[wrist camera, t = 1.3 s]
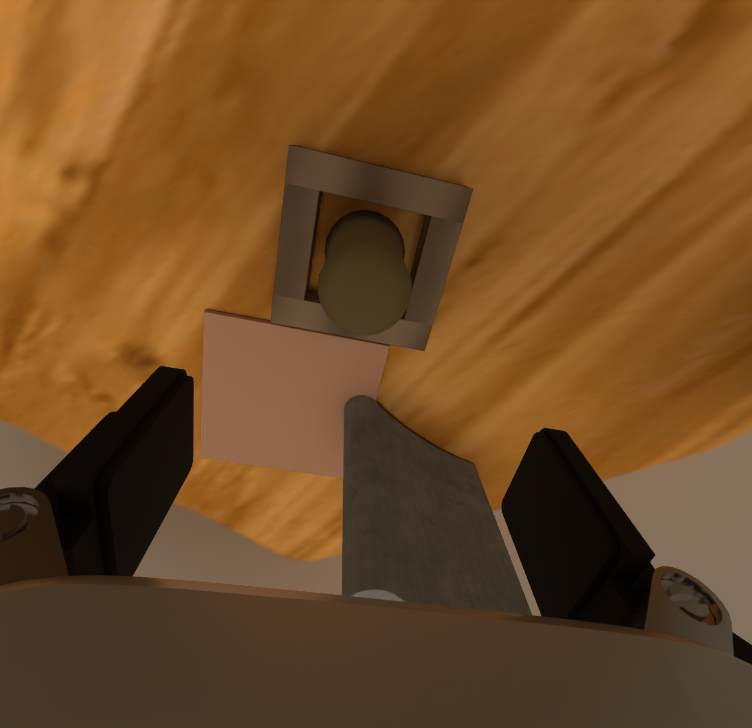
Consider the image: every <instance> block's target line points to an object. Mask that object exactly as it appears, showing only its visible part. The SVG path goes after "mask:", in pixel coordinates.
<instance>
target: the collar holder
mask: <svg viewBox="0 0 752 728" xmlns="http://www.w3.org/2000/svg"><path fill="white" fill-rule="evenodd" d="M322 191H323V192H328V193H332V194H336V195H341V196H345V197H350V198H354V199H358V200H363V201H367V202H371V203H376V204H380V205H385V206H389V207H393V208H398V209H402V210H407V211H411V212H415V213H420V214H424V215H426V216H425V220H424V224H423V228H422V232H421V235H420V239H419V243H418V247H417V251H416V255H415V259H414V263H413V267H412V270H411V274H410V276H411V284H412V294H411V298H410V303H409V306H408V308H407V309H406V311H405V313H404V315H403V316H402V318H401V319H400V320H399V321H398V322H397V323H396V324H395V325H394V326H392V327H391V328H390V329H388V330H385V331H383V332H381V333H379V334H373V335H366V336H364V335H358V334H351V333H349V332H347V331H345V330H343V329H341V328H339V327H338V326H336V325H335V324H334V323H333V322H332V321H331V320H330V319H329V318H328V316H327V315H326V313H325V311H324V309H323V308H322V306H321V304H320V299H319V295H318V292H314V291H309V290H308V287H309V280H310V273H311V266H312V259H313V252H314V245H315V238H316V231H317V224H318V217H319V210H320V203H321V196H322ZM472 191H473V189H472V188H469V187H466V186H463V185H459V184H454V183H450V182H446V181H442V180H438V179H434V178H429V177H425V176H421V175H417V174H413V173H409V172H404V171H400V170H396V169H392V168H388V167H383V166H379V165H375V164H371V163H367V162H363V161H358V160H354V159H350V158H346V157H342V156H338V155H333V154H329V153H325V152H321V151H317V150H313V149H308V148H304V147H300V146H296V145H289V151H288V160H287V170H286V179H285V189H284V199H283V208H282V218H281V228H280V237H279V247H278V257H277V266H276V276H275V285H274V295H273V305H272V314H271V323H277V324H282V325H288V326H293V327H298V328H304V329H309V330H314V331H320V332H325V333H330V334H336V335H341V336H347V337H352V338H357V339H363V340H368V341H373V342H379V343H384V344H389V345H395V346H400V347H405V348H411V349H416V350H422V351H425V348H426V345H427V342H428V338H429V335H430V332H431V328H432V325H433V322H434V318H435V315H436V312H437V308H438V305H439V302H440V298H441V295H442V292H443V288H444V285H445V282H446V278H447V275H448V272H449V268H450V265H451V262H452V258H453V255H454V251H455V248H456V245H457V241H458V238H459V235H460V231H461V228H462V225H463V221H464V218H465V215H466V211H467V208H468V205H469V201H470V198H471V195H472Z"/></svg>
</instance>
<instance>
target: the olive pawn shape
mask: <svg viewBox="0 0 752 728" xmlns="http://www.w3.org/2000/svg"><path fill="white" fill-rule="evenodd" d="M404 254H405V250H404V241H403V238H402V236H401V234H400V231H399V229H398V228H397V227H396V225H395V224H394V223H393V222H392V221H391V220H390V219H389V218H387V217H385V216H384V215H382V214H380V213H378V212H374V211H368V210H361V211H355V212H351V213H349V214H347V215H345V216H344V217H342V218H340V219H339V220H338V221H337V222H336V223H335V225H334V226H333V227H332V228H331V230H330V232H329V235H328V237H327V239H326V247H325V255H326V262H325V264H324V266H323V268H322V270H321V272H320V274H319V281H318V295H319V299H320V304H321V306H322V308H323V309H324V311H325V313H326V315H327V316H328V318H329V319H330V320H331V321H332V322H333V323H334V324H335V325H336V326H338V327H339V328H341V329H343V330H345V331H347V332H349V333H351V334H358V335H364V336H366V335H373V334H379V333H381V332H383V331H385V330H388V329H390V328H391V327H392V326H394V325H395V324H396V323H397V322H398V321H399V320H400V319H401V318H402V316H403V315H404V313H405V311H406V309H407V308H408V306H409V303H410V298H411V294H412V284H411V276H410V273H409V271H408V269H407V267H406V265H405V263H404Z"/></svg>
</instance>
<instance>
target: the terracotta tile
mask: <svg viewBox="0 0 752 728" xmlns="http://www.w3.org/2000/svg"><path fill="white" fill-rule="evenodd" d="M388 350H389V344H384V343H379V342H373V341H368V340H363V339H357V338H352V337H347V336H341V335H336V334H330V333H325V332H320V331H314V330H309V329H304V328H298V327H293V326H288V325H282V324H277V323H271V321H267V320H262V319H256V318H251V317H245V316H240V315H235V314H229V313H224V312H219V311H213V310H208V309H206V310H205V311H204V331H203V374H202V418H201V458H205V459H212V460H219V461H226V462H233V463H240V464H247V465H254V466H261V467H268V468H275V469H281V470H288V471H295V472H302V473H309V474H316V475H323V476H330V477H337V478H343V452H344V408H345V405H346V404H347V403H348V402H349V401H350V400H351V399H353V398H356V397H361V396H364V397H369V398H371V399H373V400H374V401H375V402H376V398H377V394H378V390H379V386H380V382H381V378H382V374H383V370H384V366H385V362H386V358H387V354H388Z"/></svg>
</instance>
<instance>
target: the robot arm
mask: <svg viewBox="0 0 752 728" xmlns="http://www.w3.org/2000/svg"><path fill="white" fill-rule="evenodd" d="M193 414H194V381H193V377H191V376H187V373H186V371H185V370H183V369H177V368H171V367H165V366H160V367H159V368H158V369H157V370H156V371H155V372H154V373H153V374H152V375H151V376H150V377H149V378H148V379H147V380H146V381H145V382H144V383H143V384H142V386H141V387H140V388H139V389H138V390H137V391H136V392H135V393H134V394H133V395H132V396H131V397H130V398H129V399H128V400H127V401H126V402H125V403H124V404H123V406H122V407H121V408H120V409H119V410H118V411H117V412H115V411H114V412H110V413H109V414H108V415H106V416H105V417H104V418H103V419H102V420H101V421H100V422H99V423H98V424H97V425H96V426H95V427H94V428H93V429H92V430H91V431H90V432H89V433H88V434H87V435H86V436H85V437H84V439H83V440H82V441H81V442H80V443H79V444H78V445H77V446H76V447H75V448H74V449H73V450H72V451H71V452H70V453H69V454H68V455H67V456H66V457H65V458H64V459H63V460H62V461H61V462H60V463H59V464H58V465H57V466H56V467H55V468H54V469H53V470H52V471H51V472H50V473H49V474H48V475H47V476H46V477H45V478H44V480H43V481H41V483H40V484H39V485H38V486H37V487H36V488H35V489H33V488H27V487H9V488H4V489H0V728H752V645H751V644H749V643H748V642H746V641H745V640H743V639H742V638H740V637H739V636H737V635H736V634H734V633H733V632H732V623H731V619H730V616H729V613H728V611H727V609H726V608H725V606H724V604H723V603H722V602H721V601H720V599H719V598H718V597H717V596H716V595H715V594H714V593H713V592H712V591H711V590H710V589H709V588H708V587H707V586H706V585H704V584H703V583H702V582H700V581H699V580H698V579H696V578H694V577H693V576H692V575H690V574H688V573H686V572H684V571H682V570H680V569H676V568H673V567H668V566H661V567H659V568H656V569H654V567H653V566H652V564H651V563H650V561H651V560H652V559H653V557H654V556H655V554H654V552H653V551H652V550H651V548H650V547H649V545H648V544H647V543H646V542H645V540H644V538H643V537H642V536H641V534H640V533H639V532H638V530H637V529H636V528H635V526H634V525H633V523H632V522H631V520H630V519H629V518H628V516H627V515H626V514H625V512H624V511H623V509H622V508H621V507H620V505H619V504H618V502H617V501H616V500H615V498H614V497H613V496H612V494H611V493H610V491H609V490H608V489H607V487H606V486H605V484H604V483H603V482H602V480H601V479H600V478H599V476H598V475H597V473H596V472H595V471H594V469H593V468H592V466H591V465H590V464H589V462H588V461H587V460H586V458H585V457H584V455H583V454H582V453H581V451H580V450H579V448H578V447H577V446H576V444H575V443H574V442H573V440H572V439H571V437H570V436H569V435H568V433H566V432H565V431H561V430H555V429H549V428H544V429H542V430H541V431H540V432H536V433H535V434H534V436H533V437H532V440H531V442H530V444H529V446H528V448H527V450H526V452H525V454H524V456H523V458H522V461H521V463H520V465H519V467H518V469H517V471H516V473H515V475H514V477H513V479H512V481H511V484H510V486H509V488H508V490H507V492H506V494H505V496H504V498H503V501H502V513H503V516H504V519H505V521H506V524H507V527H508V529H509V532H510V535H511V537H512V540H513V542H514V545H515V547H516V550H517V553H518V556H519V558H520V561H521V563H522V566H523V569H524V571H525V574H526V576H527V579H528V582H529V584H530V587H531V589H532V592H533V595H534V597H535V600H536V603H537V605H538V607H539V610H540V613H541V616H533V615H525V614H515V613H506V612H497V611H488V610H479V609H470V608H460V607H451V606H441V605H431V604H422V603H412V602H403V601H393V600H383V599H373V598H364V597H354V596H344V595H334V594H324V593H313V592H303V591H293V590H283V589H273V588H262V587H252V586H242V585H232V584H221V583H210V582H197V581H184V580H172V579H160V578H148V577H133V575H134V573H135V571H136V569H137V567H138V566H139V564H140V562H141V560H142V558H143V556H144V554H145V553H146V551H147V549H148V547H149V545H150V544H151V542H152V540H153V538H154V536H155V534H156V533H157V531H158V529H159V527H160V525H161V523H162V522H163V520H164V518H165V516H166V514H167V512H168V511H169V508H170V507H171V505H172V503H173V501H174V499H175V498H176V496H177V494H178V492H179V490H180V488H181V487H182V485H183V483H184V481H185V479H186V477H187V476H188V474H189V472H190V470H191V467H192V463H193Z"/></svg>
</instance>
